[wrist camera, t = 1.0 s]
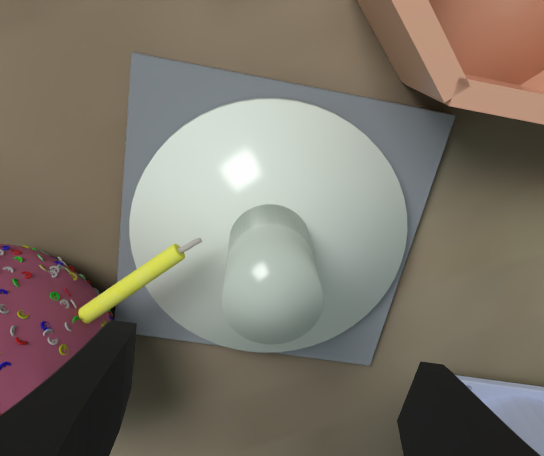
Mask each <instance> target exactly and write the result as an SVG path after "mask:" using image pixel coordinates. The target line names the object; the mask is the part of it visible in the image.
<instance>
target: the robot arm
mask: <svg viewBox="0 0 544 456" xmlns="http://www.w3.org/2000/svg"><path fill="white" fill-rule="evenodd" d="M136 327H137V323H130V322H123V321H115V320H110V321H109V322H107V323H106V324H105V325H104V326H103V327H102V328H101V329H100V330H99V331H98V332H97V333H96V334H95V335H94V336H93V337H92V338H91V339H90V340H89V341H88V342H87V343H86V344H85V345H84V346H83V347H82V348H81V349H80V350H79V351H78V352H77V353H76V354H75V355H73V356H72V357H71V358H70V359H69V360H68V361H67V362H66V363H65V364H63V365H62V366H61V367H60V368H59V369H58V370H57V371H56V372H54V373H53V374H52V375H51V376H50V377H49V378H47V379H46V380H45V381H44V382H43V383H41V384H40V385H39V386H38V387H36V388H35V389H34V390H33V391H31V392H30V393H29V394H28V395H26V396H25V397H24V398H23V399H21V400H20V401H19V402H17V403H16V404H15V405H13V406H12V407H11V408H9V409H8V410H7V411H5V412H4V413H3V414H1V415H0V456H109V455H110V452H111V450H112V447H113V445H114V442H115V440H116V437H117V435H118V432H119V429H120V426H121V423H122V419H123V416H124V412H125V409H126V405H127V402H128V398H129V394H130V391H131V384H132V373H133V361H134V350H135V338H136ZM397 422H398V428H399V433H400V439H401V444H402V449H403V453H404V456H544V387H540V386H533V385H525V384H518V383H510V382H503V381H495V380H488V379H480V378H473V377H466V376H458V375H454V374H453V373H452V372H451V371H450V370H449V369H448V368H446V367H445V366H444V365H442V364H434V363H427V362H420V364H419V367H418V369H417V372H416V374H415V377H414V380H413V382H412V385H411V387H410V390H409V392H408V395H407V397H406V400H405V402H404V405H403V407H402V410H401V412H400V415H399V417H398V420H397Z"/></svg>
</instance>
